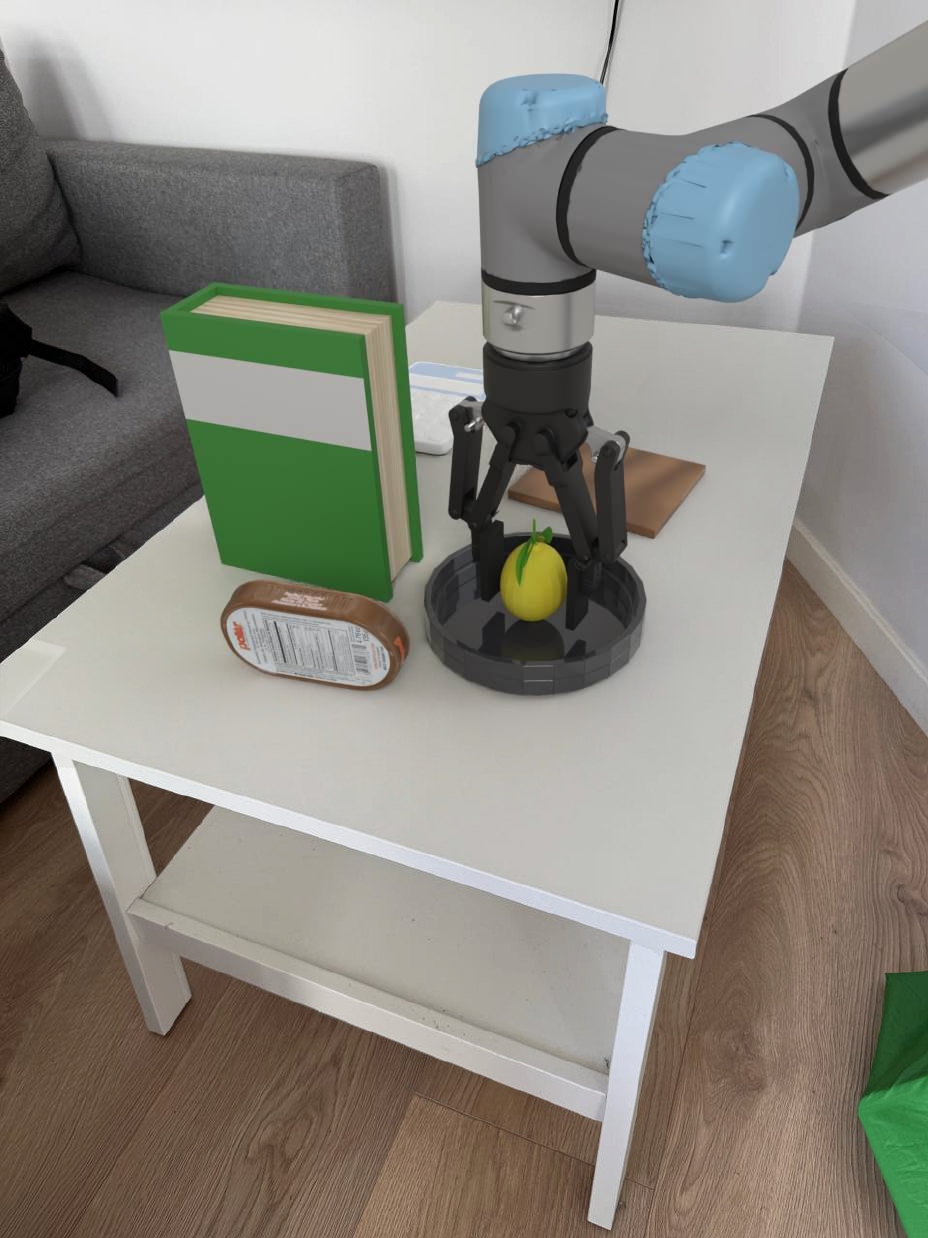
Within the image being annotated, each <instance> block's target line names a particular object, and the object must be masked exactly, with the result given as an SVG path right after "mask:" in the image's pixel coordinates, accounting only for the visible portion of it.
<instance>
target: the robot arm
mask: <svg viewBox="0 0 928 1238" xmlns="http://www.w3.org/2000/svg"><path fill="white" fill-rule="evenodd" d="M608 119H609V114H608V112H607V93H606V89H605V87H604V85H603V83H601V81H599V80H598V79H596V78H592V77H589V76H587V75H582V74H576V73H536V74H535V73H533V74H524V75H516V76H511V77H507V78H503V79H500V80H499V79H498V80H496V81H494V82H493V83H491V84H490V85H489V86H487V87H486V89H485V90H484V91H483V92H482V95H481V96H480V99H479V104H478V121H477V126H478V127H477V145H476V147H477V148H476V158H475V161H474V163H475V164H474V165H475V168H476V169H477V171H476V172H477V188H478V209H479V210H478V214H479V217H478V218H479V244H480V246H479V247H480V286H481V287H480V288H481V290H480V291H481V321H482V336H483V338H484V340H485V341H486V342H485V343H484V344H483V346H482V370H483V388H484V393H485V395H486V398H485V401H482V402H478V401H477V400H476V398H474V397H473V396H468V397H466V398H465V399H464V400H462V401H461V402H460V403H458V404H457V405H456V406H454V407H453V408H452V409H450V410H449V413H448V416H449V420H450V424H451V428H452V432H453V436H454V439H453V447H452V452H451V453H452V454H451V466H450V467H451V468H450V479H449V492H448V506H447V513H448V516H449V517H450V518H451V519H452V520H455V521H458V520H462V521H463V522H464V523H466V524H467V527H468V529H469V530H470V544H472V545H471V548H472V556H473V559H474V560H475V561H478V562H480V580H481V600H483V601H486V602H490V601H491V599H492V598H493V597H494V596H495V595H496V594H497V593H498V592H499V591H500V590H501V588H500V580H501V574H502V570H503V567H504V534H505V521H504V520H503V521H502V520H499V519H495V520H493V519H494V517H496V516H497V515H498V514H499V512H500V510H498V509H499V507H500V505H501V503H502V499H503V497H504V495H505V493H506V490H507V488H508V485H509V484H510V481H511V479H512V476H513V473H514V471H515V469H516V467H517V465H519V466H531V467H535V468H536V469H538V470H541V471H544V472H545V475H546V478H547V481H548V483H549V485H550V486H553V487H554V489H555V492H556V495H557V498H558V501H559V504H560V507H561V510H562V513H561V514H562V516H563V520H564V523H565V525H566V528H567V531H568V535H570V537H571V540H572V543H573V546H574V549H575V552H576V554H575V555H574V556H573V557H572V559H571V560H570V561H569V562H568V574H567V597H566V621H565V628H566V629H569V630H572V631H574V630H575V629H576V627H577V626H578V625H579V624H580V622H581V621H582V620H583V618H584V617H585V616H586V615H587V613H588V604H589V597H590V596H591V595H592V594H593V593H594V591H595V590H596V589H597V588H598V586H599V584H600V580H601V578H600V577H601V566H602V562H603V563H604V564H606V565H612V564H613V563H614V562H615V561H616V560H617V558H618V557H619V556H620V557H621V555H622V553H624V551H625V550H626V548H628V541H629V540H628V531H627V521H626V502H625V483H624V464H623V461H624V458H625V455H626V452H627V449H628V447H630V446H629V445H630V443H631V437H630V434H629V432H627V431H625V430H622V429H621V430H617V431H616V432H615V433H614V434H613V433H611V432H609V431H606V430H604V429H602V428H601V427H598V426H596V425H595V422H594V421H595V420H594V418H593V416H592V414H591V412H590V407H589V406H590V405H589V404H590V399H591V398H590V396H591V389H592V374H593V373H592V372H593V353H594V346H593V344H592V343H591V341H590V340H591V339H592V338H593V336H594V333H595V324H596V323H595V322H596V321H595V319H596V291H597V290H596V289H597V288H596V286H597V272H598V271H600V272H605V273H608V274H611V275H615V276H618V277H621V278H625V279H629V280H632V281H635V282H638V283H642V284H645V285H649V286H652V287H656V288H660V289H662V290H664V291H666V292H669V293H671V295H675V296H678V297H680V296H682V297H684V298H686V299H695V300H696V299H697V300H698V299H701V300H708V301H713V302H719V303H725V304H736V303H741V302H744V301H747V300H749V299H751V298H753V297H755V296H756V295H758V294H759V293H760V292H761V291H763V289H764V288H765V287H766V285H767V283H768V280H769V278H770V277H771V276H774V275H776V274H777V272H778V271H779V270H780V268H781V267H782V264H783V263H784V261H785V259H786V257H787V255H788V253H789V250H790V247H791V244H792V243H793V239H795V238H798V237H800V236H803V235H805V234H808V233H810V232H812V231H814V230H817V229H821V228H824V227H826V226H829V225H831V224H833V223H836V222H839V221H841V220H843V219H845V218H847V217H849V216H850V215H852V214H854V213H855V212H857V211H860V210H862V209H864V208H867V207H868V206H869V207H870V206H871V205H873V204H875V203H879V202H880V201H882V200H884V199H886V198H887V197H889V196H891V195H894V194H896V193H899V192H901V191H903V190H905V189H907V188H910V187H912V186H914V185H917V184H919V183H921V182H923V181H926V180H928V19H927V20H925V21H923V22H922V23H919V24H918V25H916V26H914V27H913V28H912V29H910V30H908V31H906V32H905V33H903V34H901V35H900V36H898V37H896V38H895V39H893V40H891V41H889V42H887V43H886V44H884V45H883V46H881V47H879V48H877V49H875V50H874V51H872V52H870V53H869V54H867V55H866V56H864V57H862V58H861V59H858V60H857V61H855V62H854V63H852V64H850V65H849V66H848V67H847V68H845V69H843V70H841V71H839V72H837V73H834V74H833V75H831V76H829V77H827V78H826V79H824V80H822V81H820V82H819V83H817V84H815V85H814V86H812V87H810V88H809V89H806V90H805V91H803V92H802V93H800V94H799V95H796V96H795V97H793V98H791V99H789V100H787V101H786V102H784V103H782V104H779V105H777V106H775V107H772V108H768V109H766V110H763V111H760V112H758V113H755V114H750V115H747V116H743V117H740V118H736V119H732V120H729V121H727V122H723V123H720V124H716V125H712V126H709V127H707V128H703V129H699V130H696V131H693V132H690V133H685V134H678V135H677V134H675V135H673V134H661V133H653V132H645V131H636V130H628V129H626V128H620V127H616V126H614V125H610V124H607V123H609V122H608ZM485 424H486V426H487V428H488V430H489V431H490V433H491V435H492V436H493V438H494V440H495V441H496V443H495V446H494V448H493V452H492V454H491V457H490V459H489V461H488V465H489V467H488V470H487V472H486V474H485V476H484V480H483V482H482V485H481V487H480V490H479V492H478V485H479V476H480V465H481V456H482V448H483V447H482V445H483V434H484V426H485ZM584 442H585V443H586V444H588V445H589V447H590V449H591V462H592V463H594V464H596V465H595V471H594V485H595V499H596V512H597V516H596V513H595V510H594V506H593V503H592V500H591V497H590V494H589V491H588V488H587V484H586V481H585V478H584V475H583V471H582V469H583V460H582V456H581V453H580V450H579V447H580V446H581V445H582V444H583V443H584Z"/></svg>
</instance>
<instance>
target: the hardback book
mask: <svg viewBox="0 0 928 1238" xmlns="http://www.w3.org/2000/svg"><path fill="white" fill-rule="evenodd" d="M159 318H160V321H161V325H162V329H163V334H164V337H165V342H166V346H167V349H168V353H169V357H170V358H169V359H170V361H171V366H172V370H173V373H174V377H175V383H176V385H177V390H178V394H179V397H180V402H181V406H182V409H183V414H184V417H185V422H186V426H187V431H188V433H189V434H188V435H189V438H190V442H191V445H192V450H193V454H194V458H195V462H196V467H197V470H198V474H199V479H200V482H201V486H202V491H203V494H204V498H205V502H206V506H207V510H208V514H209V519H210V522H211V526H212V530H213V535H214V538H215V542H216V546H217V550H218V551H217V552H218V556H219V558H220V563H221V565H226V566H230V567H235V568H239V569H243V570H247V571H252V572H256V573H260V574H265V575H269V576H273V577H278V578H282V579H286V580H290V581H295V582H299V583H303V584H307V585H312V586H316V587H319V588H323V589H328V590H334V591H341V592H348V593H354V594H359V595H363V596H366V597H369V598H371V599H373V600H375V601H380V602H385V603H390V602H391V600H392V599H393V598H394V592H393V583H392V582H393V580H395V578H396V577H397V575H398V574H399V573H400V572H401V570H402V569H403V568H404V567H405V565H407V563H408V562H409V561H411V562H413V563H414V562H415V563H421V561H422V560H423V559H424V547H423V536H422V522H421V521H422V520H421V510H420V509H421V507H420V497H419V485H418V472H417V471H418V470H417V458H416V451H415V445H414V432H413V420H412V407H411V394H410V382H409V369H408V367H409V359H408V344H407V334H406V319H405V308H404V303H398V302H388V301H382V300H381V301H380V300H373V299H364V298H363V299H362V298H354V297H347V296H338V295H337V296H336V295H330V294H329V295H328V294H321V293H312V292H303V291H294V290H285V289H277V288H275V289H274V288H269V287H259V286H251V285H241V284H233V283H224V282H215V281H214V282H212V283H210V284H209V285H207V286H205V287H203V288H201V289H200V290H198V291H196V292H194V293H192V294H191V295H188V296H187V297H185V298H184V299H181V300H180V301H178V302H177V303H174V304H173V305H171V306H169V307H167V308H166V309H164V310H162V311H161V312H159Z"/></svg>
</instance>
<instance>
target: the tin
mask: <svg viewBox="0 0 928 1238" xmlns="http://www.w3.org/2000/svg"><path fill="white" fill-rule="evenodd" d="M219 622H220V629H221V633H222V635H223V638H224V639H225V641H226V643H227V645H228V648H229V649H230V651H232V653H233V654H234V655H235V656H236V657H237V658H238V659H240V660H241V661H242V662H244V663H245V664H246V665H247V666H250V667H251V668H253V669H254V670H257V671H259V672H261V673H264V674H267V675H270V676H275V677H278V678H279V677H280V678H286V679H291V680H297V681H302V682H308V683H314V684H320V685H324V686H329V687H336V688H342V689H347V690H354V691H362V692H363V691H365V692H369V691H377V690H380V689H382V688H385V687H386V686H388V685H389V684H391V683H392V682H393V681H394V679H396V677H397V675H398V674H399V672H400V670H401V668H402V665H403V664H404V662H405V661H406V659H407V658H408V655H409V653H410V648H411V647H410V646H411V642H410V637H409V634H408V633H409V632H408V631H407V629H406V627H405V626H404V625H405V624H403V622H402V621H401V619H400V618H399V617H398V616H397V615H396V614H395V613H394V612H393V611H392V610H390V608H388V607H387V606H385V605H384V604H382V603H380V602H379V601H378V600H376V599H371V598H369V597H366V596H363V595H359V594H354V593H348V592H341V591H337V590H333V589H328V588H322V587H314V586H307V585H301V584H296V583H295V584H294V583H290V582H289V583H287V582H281V581H275V580H269V579H253V580H249V581H246V582H245V583H242V584H240V585H239V586H238V587H237V588H235V590H234V591H233V593H232V594H231V597H230V599H229V601H228V602H227V604H226V605H225V606H224V609H223V611H222V612H221V615H220V618H219Z"/></svg>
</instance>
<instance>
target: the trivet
mask: <svg viewBox="0 0 928 1238" xmlns="http://www.w3.org/2000/svg"><path fill="white" fill-rule="evenodd" d="M579 450H580V453H581V456H582V460H583V469H582V471H583V475H584V478H585V481H586V484H587V488H588V491H589V494H590V497H591V500H592V503H593V506H594V510H595V513H596V516H597V512H596V499H595V485H594V471H595V465H596V464H594V463H592V462H591V449H590V447H589V445H588V444H586V443H585V442H584V443H583V444H582V445H581V446H580V447H579ZM623 464H624V483H625V502H626V521H627V532H629V533H633V534H636V535H640V536H644V537H648V538H651V539H655V538H656V537H657V536H658V535H659V533H660V532H661V530H663V528H664V527H665V526H666V524H668V521H669V520H670V519H671V518H672V516H673V515H674V514H675V512H676V511H677V510H678V509H679V508H680V506H681V504H683V502H684V501H685V500H686V498H687V497H688V496H689V494H690V493H691V492H692V490H694V488H695V487H696V485H698V483H699V482H700V481H701V479H702V478H703V476H704V475H705V474H706V468H707V465H706V464H703V463H698V462H694V461H690V460H686V459H682V458H681V459H680V458H677V457H673V456H668V455H664V454H660V453H657V452H656V453H655V452H652V451H647V450H643V449H639V448H635V447H631V446H628V449H627V452H626V455H625V458H624V461H623ZM507 498H508V499H510V500H514V501H518V502H522V503H526V504H529V505H532V506H537V507H540V508H542V509H544V508H545V509H547V510H551V511H554V512H558V513H561V514H563V513H562V510H561V507H560V504H559V501H558V498H557V495H556V492H555V489H554V487H553V486H550V485H549V483H548V481H547V478H546V475H545V472H544V471H541V470H538V469H536V468H535V467H533V466H531V467H530V468H529V469H528V470H527V471H526V472H524V474H523V475H522V476H521V477H520V478H519V479H517V480H516V481H515V483H514V484H512V485H511V486H510V487H509V488H508V489H507Z"/></svg>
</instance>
